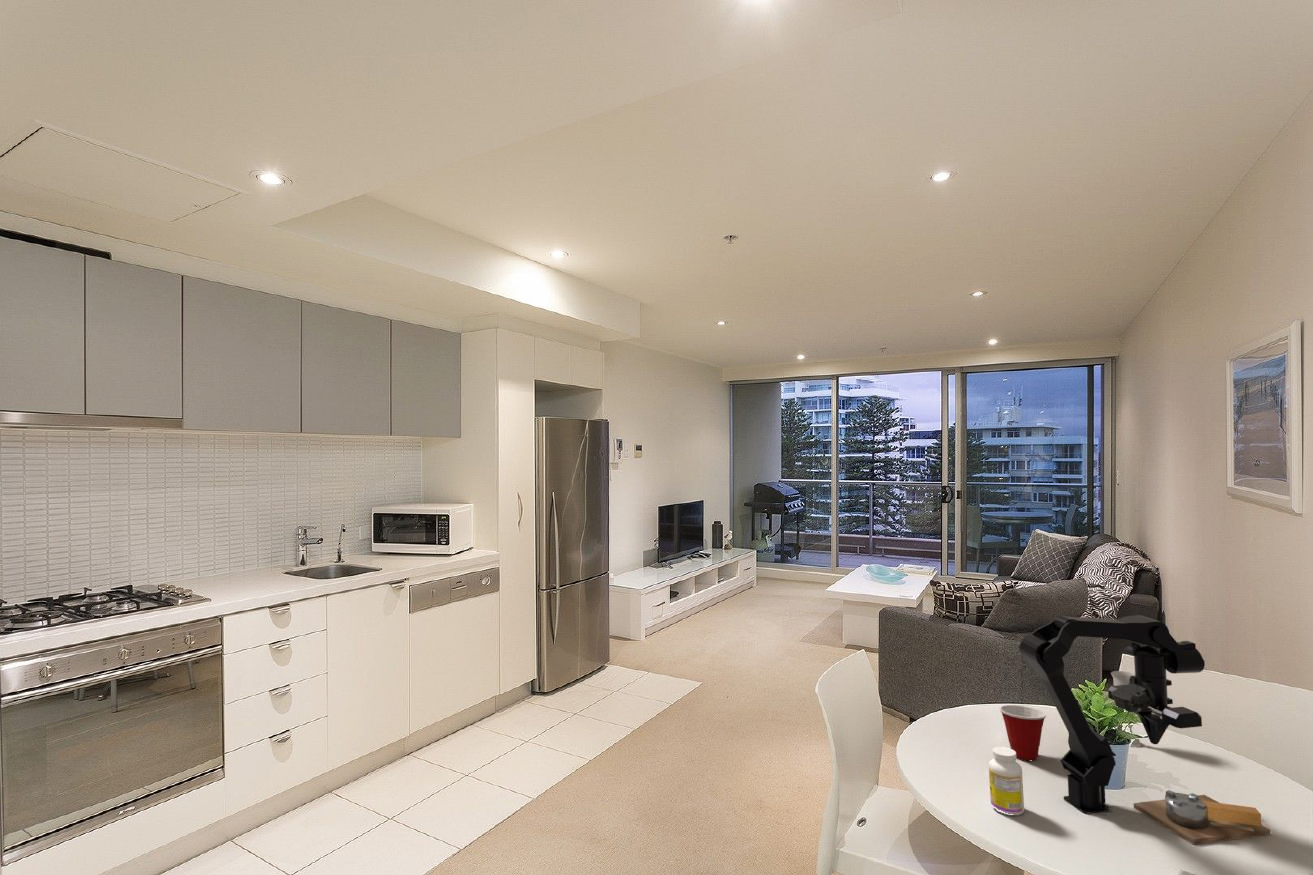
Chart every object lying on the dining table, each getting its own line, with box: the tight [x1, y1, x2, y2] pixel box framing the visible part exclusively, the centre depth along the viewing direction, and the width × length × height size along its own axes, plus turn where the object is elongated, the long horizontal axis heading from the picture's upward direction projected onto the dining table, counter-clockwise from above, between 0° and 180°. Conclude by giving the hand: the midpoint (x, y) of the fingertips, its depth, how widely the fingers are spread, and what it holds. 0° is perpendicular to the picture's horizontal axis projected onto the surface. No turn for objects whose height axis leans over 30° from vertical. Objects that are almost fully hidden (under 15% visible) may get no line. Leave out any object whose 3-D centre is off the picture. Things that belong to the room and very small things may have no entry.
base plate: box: [1133, 794, 1272, 845], centre depth 140 cm, size 18×14×1 cm
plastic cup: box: [999, 704, 1047, 762], centre depth 171 cm, size 11×11×12 cm
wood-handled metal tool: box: [1164, 789, 1262, 828], centre depth 137 cm, size 16×7×4 cm, turn 68°
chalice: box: [1110, 670, 1142, 748], centre depth 177 cm, size 7×7×18 cm
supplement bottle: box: [988, 746, 1025, 816], centre depth 147 cm, size 7×7×13 cm
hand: (1154, 743), depth 148 cm, fingers closed
